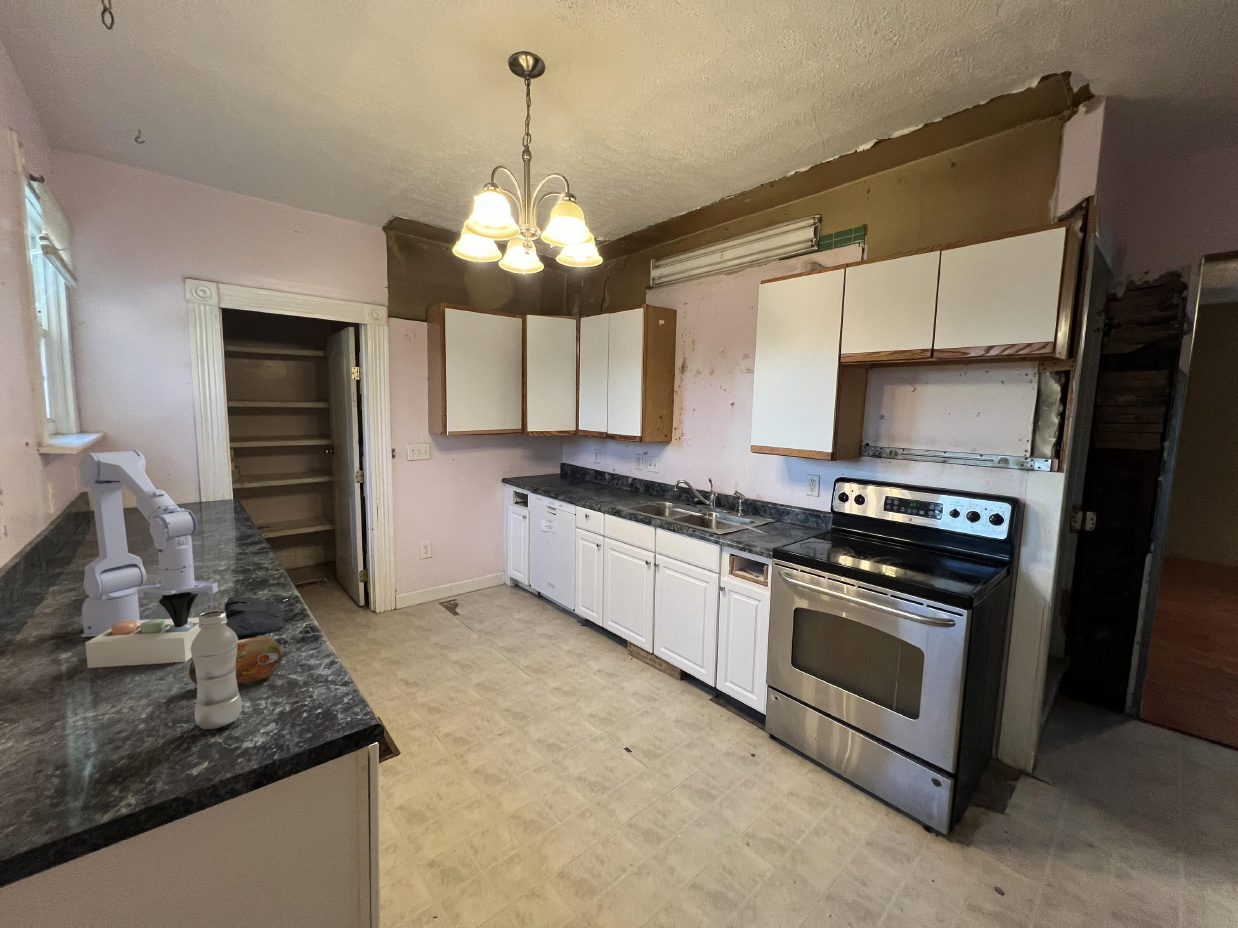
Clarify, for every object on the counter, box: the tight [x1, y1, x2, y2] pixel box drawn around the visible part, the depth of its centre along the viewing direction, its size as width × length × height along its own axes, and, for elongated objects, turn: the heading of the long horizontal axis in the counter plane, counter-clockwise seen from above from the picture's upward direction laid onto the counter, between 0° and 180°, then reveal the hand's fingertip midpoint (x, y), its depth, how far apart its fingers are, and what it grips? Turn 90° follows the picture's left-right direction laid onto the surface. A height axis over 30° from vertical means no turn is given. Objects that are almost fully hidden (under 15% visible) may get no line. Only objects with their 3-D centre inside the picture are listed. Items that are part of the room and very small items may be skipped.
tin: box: [188, 636, 283, 686], centre depth 105 cm, size 15×3×8 cm, turn 117°
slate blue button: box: [169, 621, 193, 632], centre depth 117 cm, size 4×4×3 cm
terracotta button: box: [111, 620, 137, 636], centre depth 115 cm, size 4×4×3 cm
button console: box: [84, 617, 201, 669], centre depth 116 cm, size 18×11×6 cm, turn 101°
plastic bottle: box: [191, 609, 243, 730], centre depth 91 cm, size 6×7×20 cm
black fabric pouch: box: [223, 596, 285, 638], centre depth 133 cm, size 15×22×5 cm
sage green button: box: [140, 618, 165, 634], centre depth 116 cm, size 4×4×3 cm
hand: (181, 625), depth 117 cm, fingers closed, pressing on slate blue button
